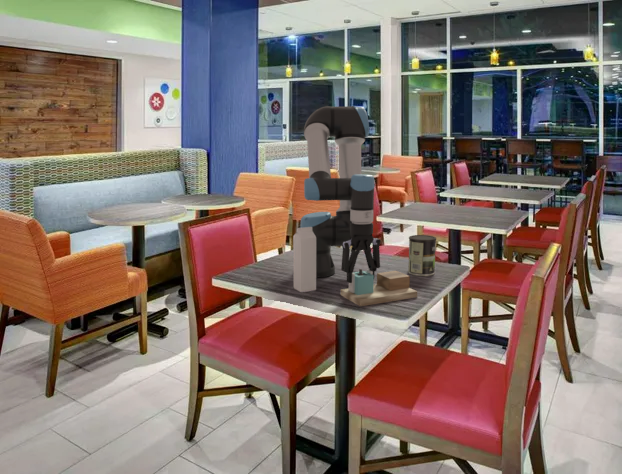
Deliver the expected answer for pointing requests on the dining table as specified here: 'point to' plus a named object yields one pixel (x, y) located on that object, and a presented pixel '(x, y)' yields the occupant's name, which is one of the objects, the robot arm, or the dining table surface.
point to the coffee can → (422, 255)
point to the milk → (304, 259)
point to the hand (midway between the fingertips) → (360, 290)
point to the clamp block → (393, 280)
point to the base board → (378, 295)
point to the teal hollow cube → (364, 283)
